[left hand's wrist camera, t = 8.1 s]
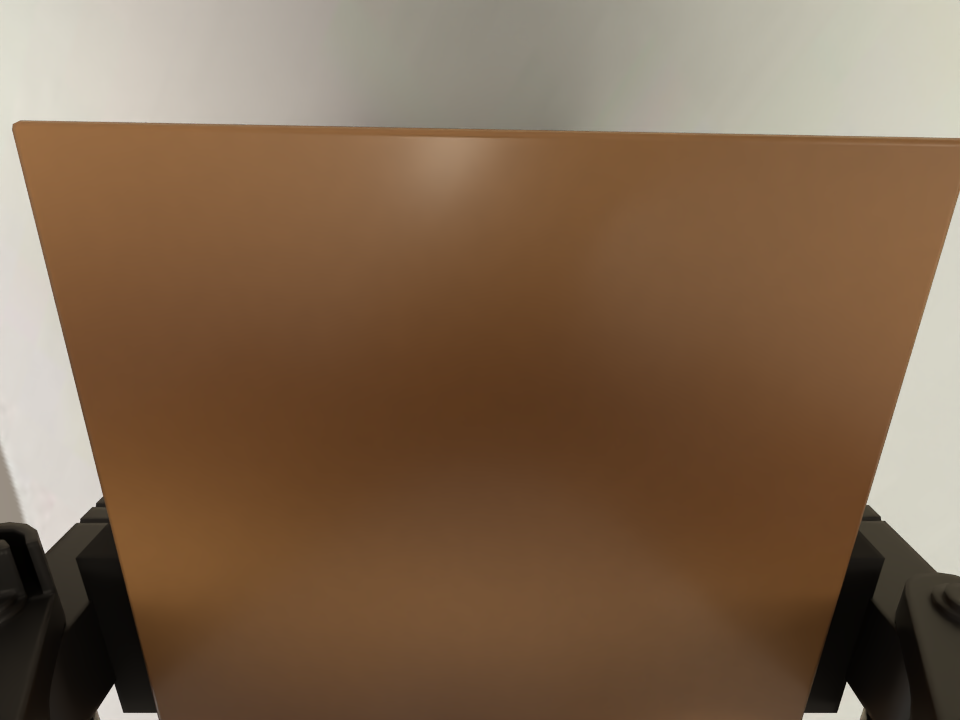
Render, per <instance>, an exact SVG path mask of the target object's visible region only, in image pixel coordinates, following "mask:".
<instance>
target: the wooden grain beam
mask: <svg viewBox="0 0 960 720" xmlns="http://www.w3.org/2000/svg"><path fill="white" fill-rule="evenodd" d="M12 131H13V135H14V139H15V143H16V147H17V151H18V155H19V159H20V163H21V167H22V171H23V175H24V179H25V183H26V187H27V191H28V195H29V199H30V203H31V207H32V211H33V215H34V219H35V223H36V227H37V231H38V235H39V239H40V243H41V247H42V251H43V255H44V259H45V263H46V267H47V271H48V275H49V279H50V283H51V288H52V292H53V296H54V300H55V304H56V308H57V312H58V316H59V320H60V324H61V328H62V332H63V336H64V340H65V344H66V348H67V352H68V356H69V360H70V364H71V368H72V372H73V376H74V380H75V384H76V388H77V392H78V396H79V400H80V404H81V408H82V412H83V416H84V420H85V424H86V428H87V432H88V436H89V440H90V444H91V448H92V452H93V456H94V461H95V465H96V469H97V473H98V477H99V481H100V485H101V489H102V493H103V497H104V501H105V505H106V509H107V513H108V517H109V521H110V525H111V529H112V533H113V537H114V541H115V545H116V549H117V553H118V557H119V561H120V565H121V569H122V573H123V577H124V581H125V585H126V589H127V593H128V597H129V601H130V605H131V609H132V613H133V617H134V621H135V625H136V630H137V634H138V638H139V642H140V646H141V650H142V654H143V658H144V662H145V666H146V670H147V674H148V678H149V682H150V686H151V690H152V694H153V698H154V702H155V706H156V710H157V714H158V718H159V720H802V718H803V714H804V711H805V708H806V704H807V701H808V698H809V694H810V691H811V687H812V684H813V681H814V677H815V674H816V671H817V667H818V664H819V661H820V657H821V654H822V651H823V647H824V644H825V641H826V637H827V634H828V631H829V627H830V624H831V620H832V617H833V614H834V610H835V607H836V604H837V600H838V597H839V594H840V590H841V587H842V584H843V580H844V577H845V574H846V570H847V567H848V564H849V560H850V557H851V553H852V550H853V547H854V543H855V540H856V537H857V533H858V530H859V527H860V523H861V520H862V517H863V513H864V510H865V507H866V503H867V500H868V497H869V493H870V490H871V486H872V483H873V480H874V476H875V473H876V470H877V466H878V463H879V460H880V456H881V453H882V450H883V446H884V443H885V440H886V436H887V433H888V429H889V426H890V423H891V419H892V416H893V413H894V409H895V406H896V403H897V399H898V396H899V393H900V389H901V386H902V383H903V379H904V376H905V373H906V369H907V366H908V362H909V359H910V356H911V352H912V349H913V346H914V342H915V339H916V336H917V332H918V329H919V326H920V322H921V319H922V316H923V312H924V309H925V306H926V302H927V299H928V295H929V292H930V289H931V285H932V282H933V279H934V275H935V272H936V269H937V265H938V262H939V259H940V255H941V252H942V249H943V245H944V242H945V239H946V235H947V232H948V228H949V225H950V222H951V218H952V215H953V212H954V208H955V205H956V202H957V198H958V195H959V192H960V138H924V137H871V136H818V135H765V134H712V133H659V132H606V131H553V130H500V129H447V128H394V127H341V126H288V125H235V124H182V123H129V122H76V121H23V120H20V121H18V122H16V123H14V124H13V127H12Z"/></svg>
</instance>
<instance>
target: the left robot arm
mask: <svg viewBox="0 0 960 720" xmlns="http://www.w3.org/2000/svg"><path fill="white" fill-rule="evenodd" d="M846 682H848V684H849V685H850V687H851V688H852V690H853V691H854V693H855V695H856V696H857V698H858V699H859V701H860V702H861V704H862V705H863V707H864V709H863V712H862V715H861V718H860V720H960V577H959V576H956V575H951V574H945V573H938V572H936V571H935V570H934V569H933V568H932V567H931V566H930V565H929V564H928V563H927V562H926V561H925V560H924V559H923V558H922V557H921V556H920V555H919V554H918V553H917V552H916V551H915V550H914V549H913V548H912V547H911V546H910V545H909V544H908V543H907V542H906V541H905V540H904V539H903V538H902V537H901V536H900V535H899V534H898V533H897V532H896V531H895V530H894V529H893V528H892V527H891V526H889V525H888V524H887V523H886V522H885V521H881V517H880V516H879V515H878V514H877V513H876V512H875V511H874V510H873V509H872V508H871V507H870V506H869V505H866V507H865V510H864V513H863V517H862V520H861V523H860V527H859V530H858V533H857V537H856V540H855V543H854V547H853V550H852V553H851V557H850V560H849V564H848V567H847V570H846V574H845V577H844V580H843V584H842V587H841V590H840V594H839V597H838V600H837V604H836V607H835V610H834V614H833V617H832V620H831V624H830V627H829V631H828V634H827V637H826V641H825V644H824V647H823V651H822V654H821V657H820V661H819V664H818V667H817V671H816V674H815V677H814V681H813V684H812V687H811V691H810V694H809V698H808V701H807V704H806V708H805V711H804V713H837V711H838V708H839V705H840V701H841V698H842V695H843V692H844V689H845V685H846ZM114 684H115V687H116V690H117V693H118V697H119V700H120V703H121V706H122V709H123V713H157V710H156V706H155V702H154V698H153V694H152V690H151V686H150V682H149V678H148V674H147V670H146V666H145V662H144V658H143V654H142V650H141V646H140V642H139V638H138V634H137V630H136V625H135V621H134V617H133V613H132V609H131V605H130V601H129V597H128V593H127V589H126V585H125V581H124V577H123V573H122V569H121V565H120V561H119V557H118V553H117V549H116V545H115V541H114V537H113V533H112V529H111V525H110V521H109V517H108V513H107V509H106V505H105V501H104V497H102V498H101V499H100V500H99V501H98V502H97V503H96V507H92V508H91V509H90V510H89V511H88V512H87V513H86V514H85V515H84V516H83V517H82V518H81V519H80V523H76V524H75V525H74V526H73V527H72V528H71V529H70V530H69V531H68V532H67V533H66V534H65V535H64V536H63V537H62V538H61V539H60V540H59V541H58V542H57V543H56V544H55V545H54V546H53V547H52V548H51V549H50V550H49V551H48V552H47V553H46V554H45V553H44V550H43V547H42V544H41V541H40V538H39V535H38V532H37V530H36V529H34V528H32V527H31V526H29V525H28V524H22V523H12V522H7V523H0V720H100V718H99V715H98V712H97V709H98V708H99V706H100V705H101V703H102V701H103V700H104V698H105V697H106V695H107V694H108V692H109V691H110V689H111V688H112V686H113V685H114Z"/></svg>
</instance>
